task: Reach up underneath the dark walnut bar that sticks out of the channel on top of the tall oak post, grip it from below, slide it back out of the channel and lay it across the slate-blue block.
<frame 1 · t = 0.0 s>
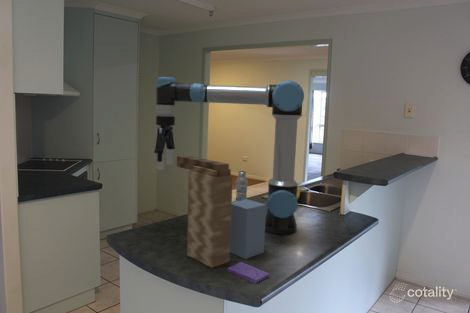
hand: (164, 166, 159), 28 cm above the counter, tool pointing down, fingers open, 13 cm apart
walnut bar: (201, 170, 136), point 31 cm above the counter, touching oak post
plastic bottle: (240, 209, 203), on the counter
blue step: (245, 251, 144), on the counter
oak post: (207, 258, 137), on the counter
sponges: (247, 276, 125), on the counter
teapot: (287, 207, 211), on the counter
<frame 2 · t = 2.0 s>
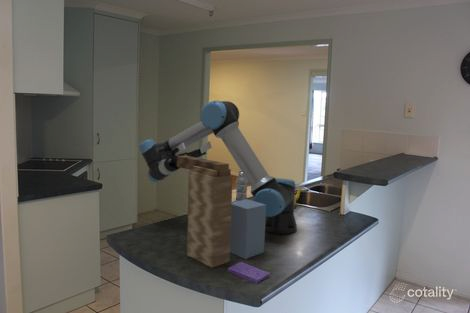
hand: (197, 145, 156), 38 cm above the counter, tool pointing upward, fingers open, 13 cm apart
nothing on the counter moved.
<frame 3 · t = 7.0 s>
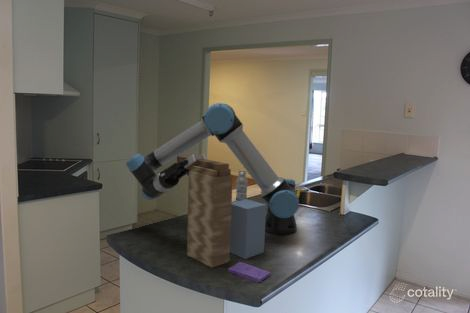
hand: (199, 157, 136), 36 cm above the counter, tool pointing upward, fingers closed on walnut bar, 4 cm apart
walnut bar: (201, 170, 136), point 31 cm above the counter, touching gripper, oak post
everything else where it was.
when the fingers open (26 cm above the counter, at t = 15.1 s): walnut bar drops 2 cm, resting on blue step.
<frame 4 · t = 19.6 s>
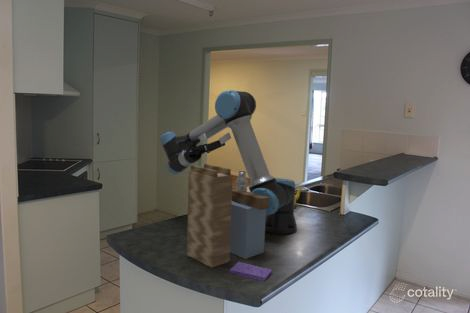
hand: (217, 135, 159), 42 cm above the counter, tool pointing upward, fingers open, 13 cm apart
walnut bar: (241, 202, 144), point 18 cm above the counter, touching blue step
at the end: walnut bar inside the target area on the blue step (3.1 cm from its centre), point 18.5 cm above the blue step's base; the gripper is holding nothing; walnut bar moved 20.4 cm from its start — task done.
